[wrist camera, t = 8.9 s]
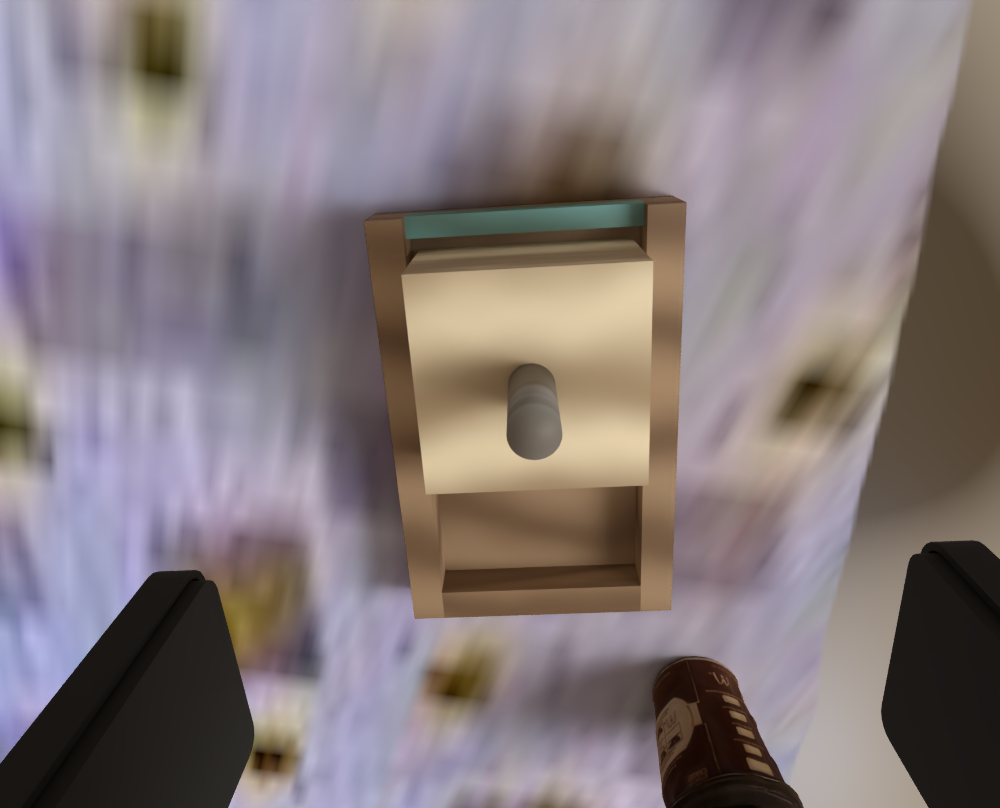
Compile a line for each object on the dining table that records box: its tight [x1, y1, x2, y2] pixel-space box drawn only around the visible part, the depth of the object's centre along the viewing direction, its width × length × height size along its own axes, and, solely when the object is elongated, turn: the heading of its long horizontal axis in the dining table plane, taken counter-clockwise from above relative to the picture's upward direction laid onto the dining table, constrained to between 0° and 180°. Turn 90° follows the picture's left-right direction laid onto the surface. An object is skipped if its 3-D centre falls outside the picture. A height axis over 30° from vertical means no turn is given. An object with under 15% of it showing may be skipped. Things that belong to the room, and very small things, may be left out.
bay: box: [364, 196, 686, 619], centre depth 44 cm, size 26×17×3 cm, turn 3°
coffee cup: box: [652, 657, 803, 808], centre depth 47 cm, size 9×8×13 cm
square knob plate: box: [401, 238, 653, 495], centre depth 36 cm, size 12×12×13 cm
